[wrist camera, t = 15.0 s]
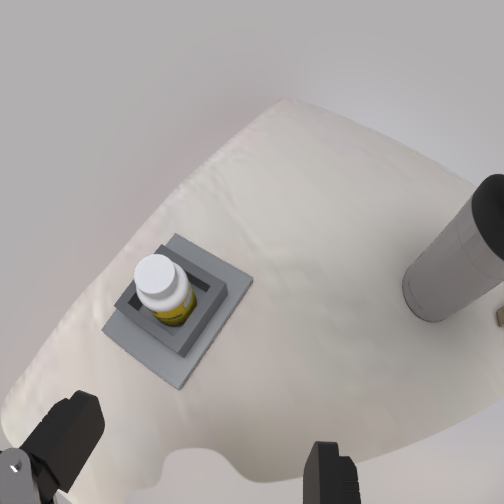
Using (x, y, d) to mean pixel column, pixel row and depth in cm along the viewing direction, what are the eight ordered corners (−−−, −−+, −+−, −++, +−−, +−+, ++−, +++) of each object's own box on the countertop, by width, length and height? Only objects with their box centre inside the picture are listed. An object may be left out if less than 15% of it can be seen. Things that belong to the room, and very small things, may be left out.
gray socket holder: (177, 237, 42) (170, 218, 38) (253, 281, 39) (253, 264, 35) (105, 332, 36) (88, 322, 32) (180, 389, 33) (170, 387, 29)
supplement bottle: (148, 322, 35) (118, 292, 27) (161, 281, 38) (137, 241, 29) (191, 333, 35) (172, 306, 26) (203, 290, 37) (189, 251, 29)
